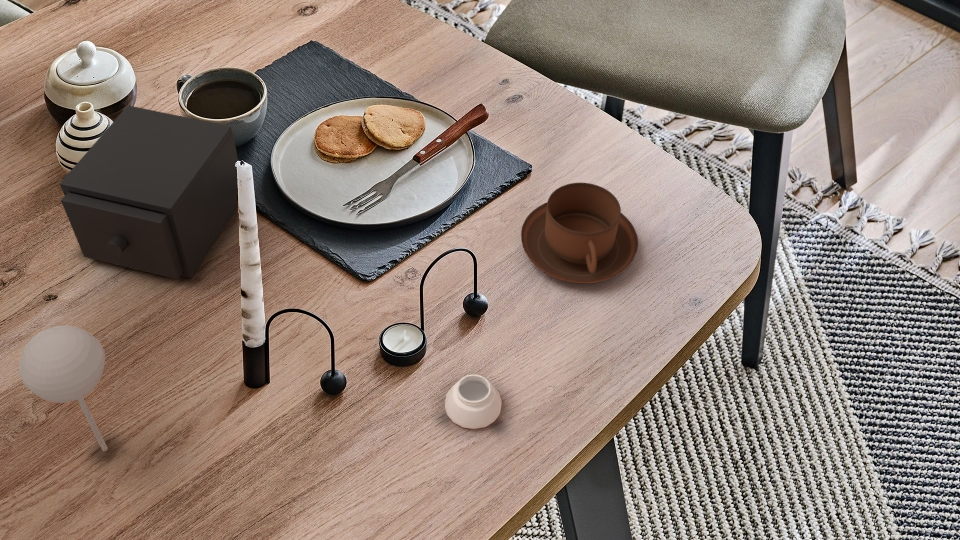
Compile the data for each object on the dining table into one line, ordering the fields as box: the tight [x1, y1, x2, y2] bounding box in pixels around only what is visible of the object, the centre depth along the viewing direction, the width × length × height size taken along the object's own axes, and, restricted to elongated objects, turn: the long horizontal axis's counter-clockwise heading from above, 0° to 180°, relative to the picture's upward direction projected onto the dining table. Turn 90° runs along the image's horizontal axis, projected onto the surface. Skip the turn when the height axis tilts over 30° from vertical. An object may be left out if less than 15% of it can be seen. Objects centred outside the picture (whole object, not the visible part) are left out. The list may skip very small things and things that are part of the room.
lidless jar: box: [444, 373, 503, 430], centre depth 84 cm, size 5×3×5 cm
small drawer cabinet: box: [59, 105, 239, 279], centre depth 96 cm, size 13×12×10 cm
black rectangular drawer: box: [60, 192, 184, 280], centre depth 94 cm, size 13×10×8 cm
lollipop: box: [18, 324, 109, 452], centre depth 75 cm, size 6×6×15 cm
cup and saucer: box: [520, 182, 639, 284], centre depth 96 cm, size 12×12×6 cm
